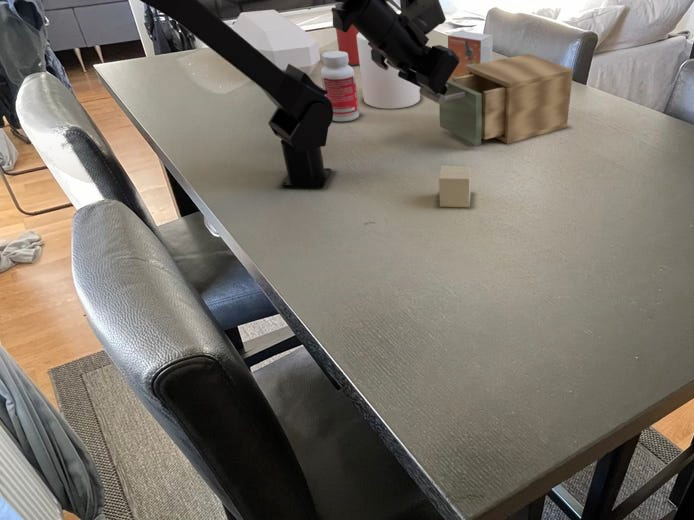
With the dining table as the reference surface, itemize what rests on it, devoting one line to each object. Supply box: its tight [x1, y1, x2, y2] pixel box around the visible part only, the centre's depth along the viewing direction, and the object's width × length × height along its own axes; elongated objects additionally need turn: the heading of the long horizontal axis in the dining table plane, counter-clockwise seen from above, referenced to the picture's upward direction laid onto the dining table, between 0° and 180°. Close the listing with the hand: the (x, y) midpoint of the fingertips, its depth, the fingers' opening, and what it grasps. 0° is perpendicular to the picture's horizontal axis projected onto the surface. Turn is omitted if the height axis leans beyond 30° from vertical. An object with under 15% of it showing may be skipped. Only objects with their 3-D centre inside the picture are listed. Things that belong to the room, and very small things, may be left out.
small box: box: [447, 30, 494, 81], centre depth 124 cm, size 8×6×10 cm
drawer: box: [419, 74, 507, 146], centre depth 104 cm, size 19×11×8 cm, turn 126°
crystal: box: [230, 9, 321, 77], centre depth 135 cm, size 14×10×28 cm
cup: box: [356, 32, 421, 110], centre depth 118 cm, size 12×12×12 cm
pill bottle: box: [320, 50, 360, 122], centre depth 111 cm, size 6×6×11 cm
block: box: [438, 165, 471, 208], centre depth 87 cm, size 4×4×4 cm
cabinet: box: [467, 53, 574, 145], centre depth 109 cm, size 15×13×10 cm
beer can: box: [334, 2, 360, 66], centre depth 138 cm, size 7×7×12 cm
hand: (444, 91), depth 99 cm, fingers closed, pressing on drawer
